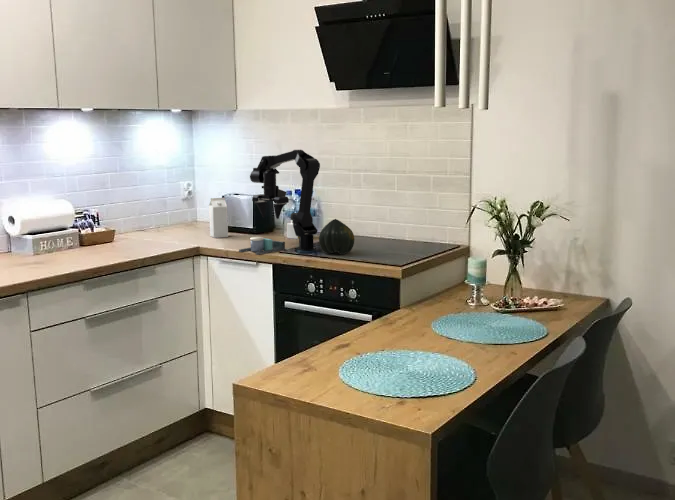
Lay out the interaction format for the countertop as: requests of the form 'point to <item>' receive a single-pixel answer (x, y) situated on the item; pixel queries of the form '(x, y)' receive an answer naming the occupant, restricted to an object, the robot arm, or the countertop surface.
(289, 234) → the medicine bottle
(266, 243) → the teal foam pad
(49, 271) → the countertop surface
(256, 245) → the jar
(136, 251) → the countertop surface
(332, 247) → the squash
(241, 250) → the gray u-shaped archway
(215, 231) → the milk carton
